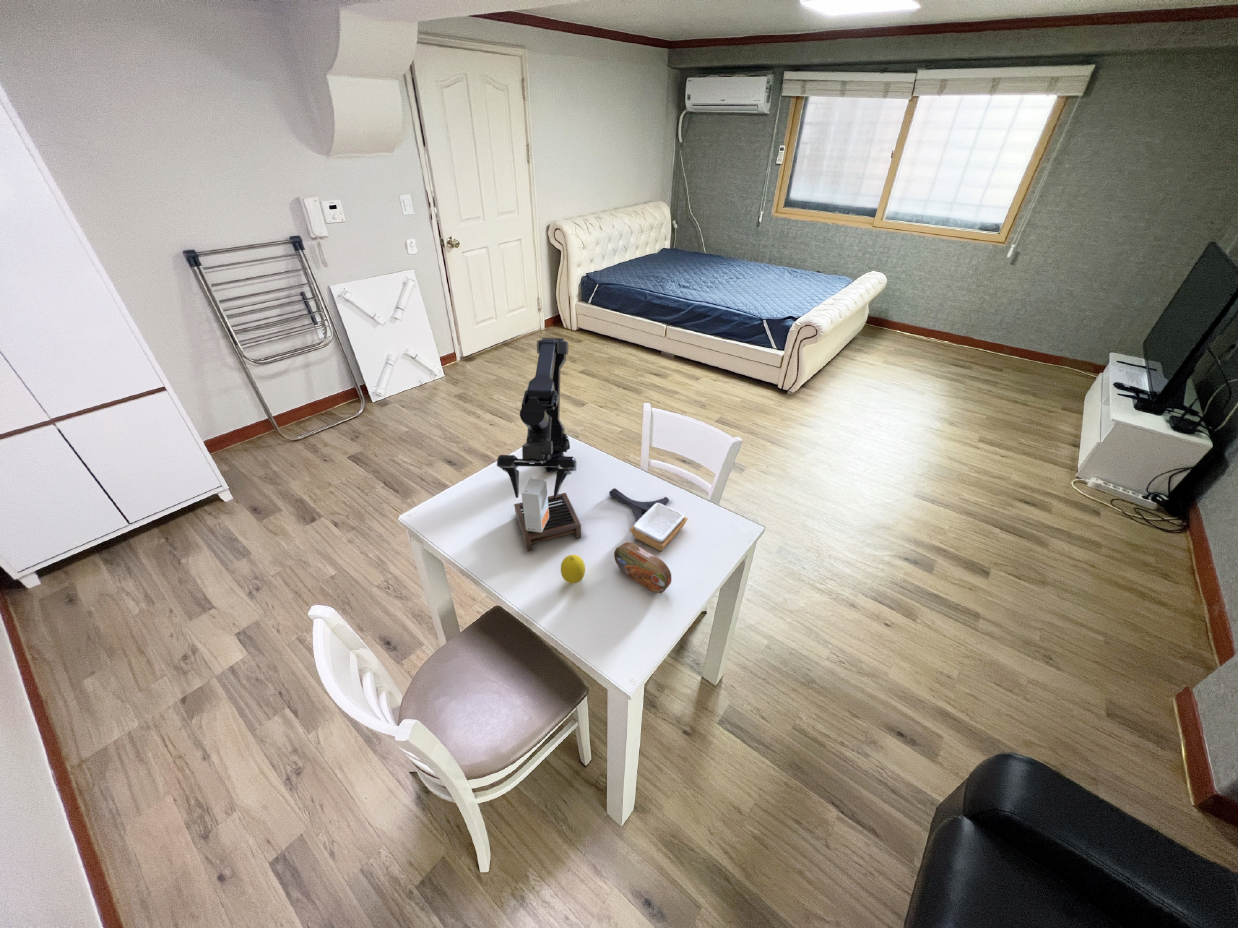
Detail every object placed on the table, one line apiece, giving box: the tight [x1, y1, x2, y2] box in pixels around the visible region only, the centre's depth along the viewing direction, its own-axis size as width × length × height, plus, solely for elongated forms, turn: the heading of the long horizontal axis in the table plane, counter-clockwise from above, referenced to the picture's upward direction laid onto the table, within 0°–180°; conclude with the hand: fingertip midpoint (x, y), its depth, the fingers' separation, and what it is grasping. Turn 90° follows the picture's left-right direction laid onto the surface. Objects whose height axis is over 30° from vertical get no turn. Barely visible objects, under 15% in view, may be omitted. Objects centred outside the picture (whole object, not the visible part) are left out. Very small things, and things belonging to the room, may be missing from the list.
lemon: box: [560, 554, 586, 585], centre depth 111 cm, size 6×6×8 cm
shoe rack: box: [513, 492, 582, 552], centre depth 126 cm, size 14×14×4 cm
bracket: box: [608, 487, 669, 524], centre depth 134 cm, size 14×15×3 cm
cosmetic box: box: [521, 477, 549, 533], centre depth 118 cm, size 6×4×12 cm
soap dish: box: [629, 503, 689, 552], centre depth 124 cm, size 12×10×5 cm
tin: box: [613, 541, 672, 594], centre depth 111 cm, size 15×3×8 cm, turn 49°
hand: (535, 498), depth 118 cm, fingers open, 9 cm apart
